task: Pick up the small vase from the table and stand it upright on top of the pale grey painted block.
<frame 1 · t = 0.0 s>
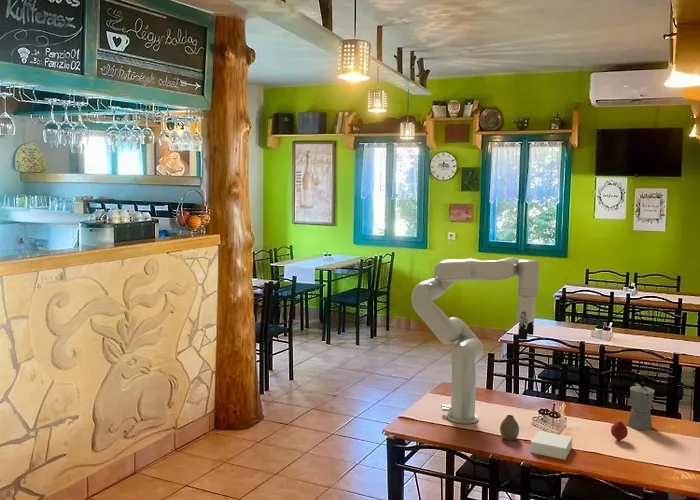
hand: (525, 336, 254), 37 cm above the table, tool pointing down, fingers open, 9 cm apart
onion: (618, 441, 249), on the table
grey block: (551, 450, 239), on the table
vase: (509, 439, 249), on the table
coffeepot: (638, 425, 265), on the table
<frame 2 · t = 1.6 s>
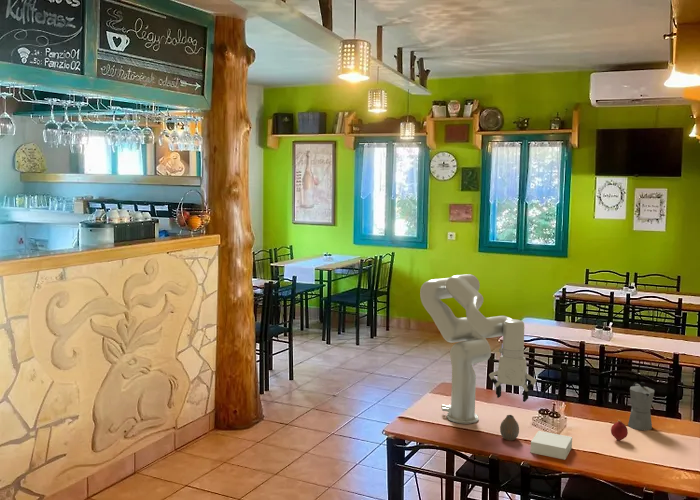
hand: (511, 398, 247), 15 cm above the table, tool pointing down, fingers open, 9 cm apart
nothing on the table moved.
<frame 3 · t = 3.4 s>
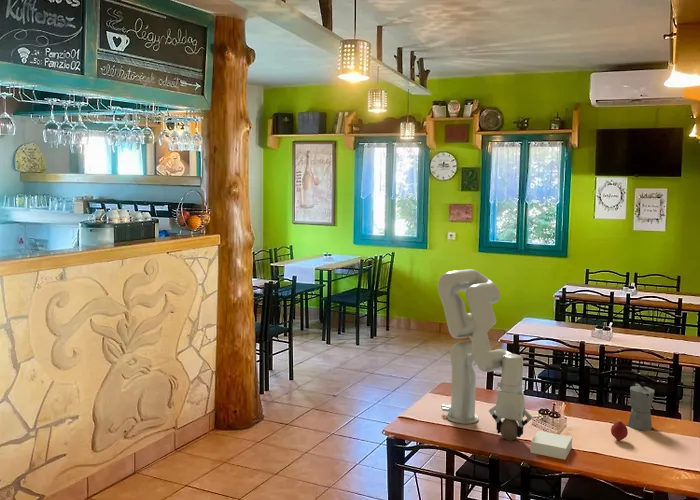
hand: (509, 433, 249), 2 cm above the table, tool pointing down, fingers closed on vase, 7 cm apart
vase: (509, 439, 249), on the table, touching gripper
everything else where it was.
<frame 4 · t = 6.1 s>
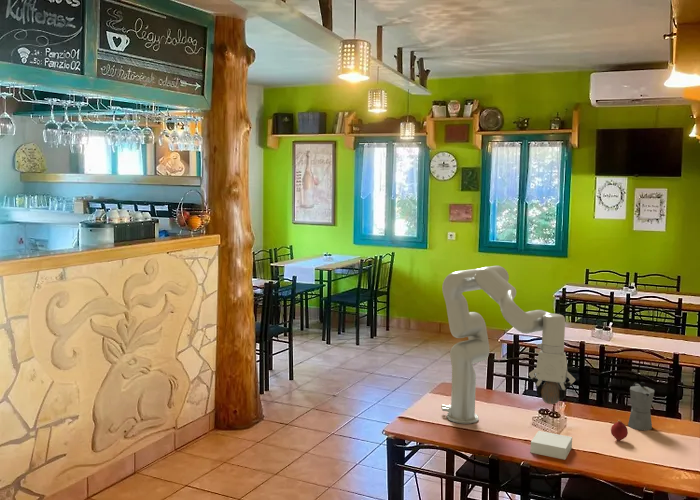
hand: (550, 397, 238), 19 cm above the table, tool pointing down, fingers closed on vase, 6 cm apart
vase: (550, 403, 238), point 17 cm above the table, touching gripper
everything else where it was.
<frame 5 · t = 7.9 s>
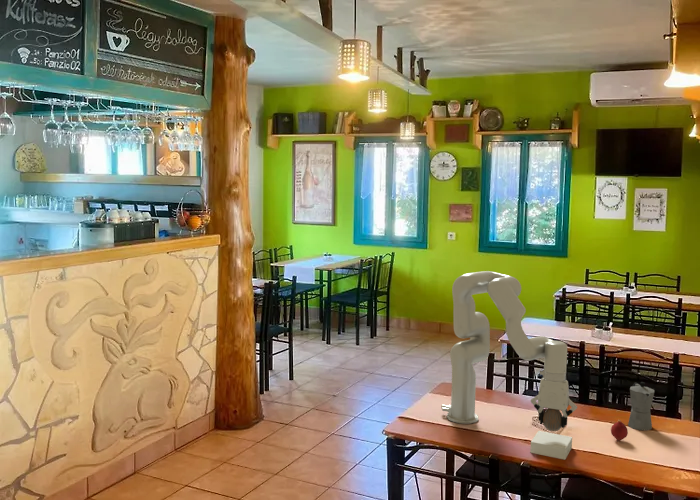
hand: (552, 424, 238), 10 cm above the table, tool pointing down, fingers closed on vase, 6 cm apart
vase: (552, 429, 238), point 8 cm above the table, touching gripper
everything else where it was.
when the fingers open (7 cm above the table, at t = 9.0 s): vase drops 1 cm, resting on grey block.
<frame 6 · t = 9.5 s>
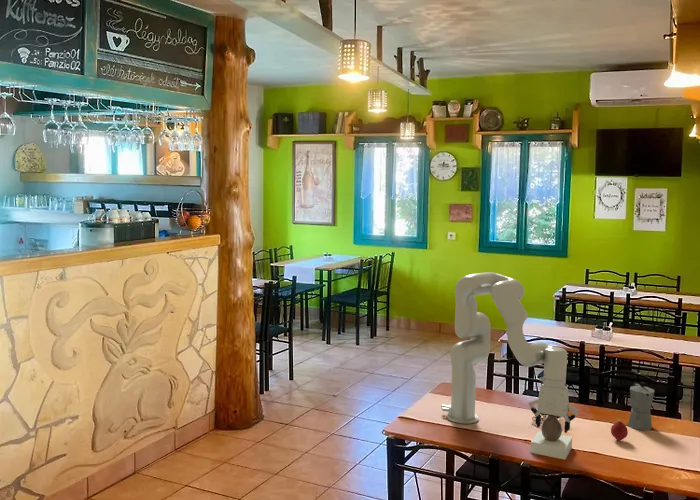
hand: (552, 429, 238), 8 cm above the table, tool pointing down, fingers open, 9 cm apart
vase: (551, 439, 239), point 4 cm above the table, touching grey block
everything else where it was.
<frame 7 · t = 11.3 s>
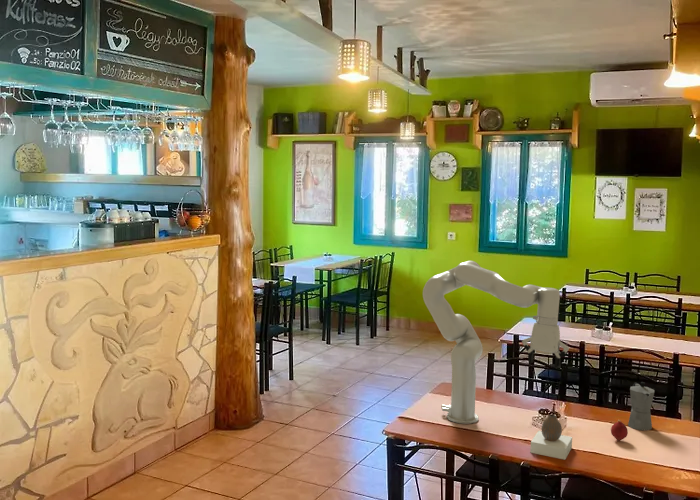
hand: (543, 365, 252), 27 cm above the table, tool pointing down, fingers open, 9 cm apart
nothing on the table moved.
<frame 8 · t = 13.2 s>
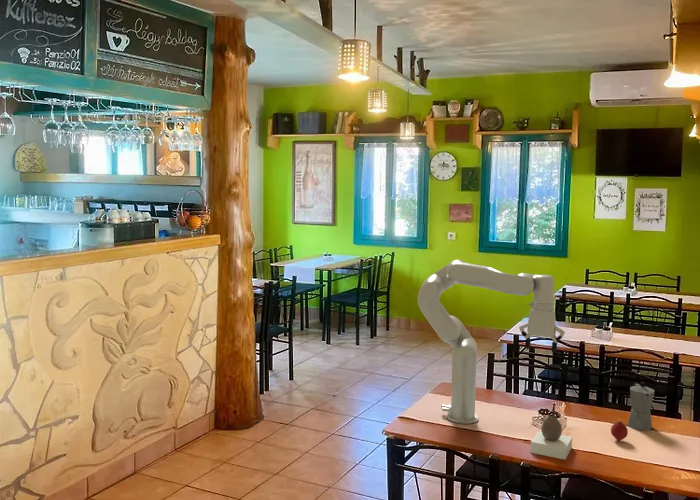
hand: (540, 350, 260), 30 cm above the table, tool pointing down, fingers open, 9 cm apart
nothing on the table moved.
at the end: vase inside the target area on the grey block (0.2 cm from its centre), point 3.8 cm above the grey block's base; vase tilted 0°; the gripper is holding nothing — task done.
